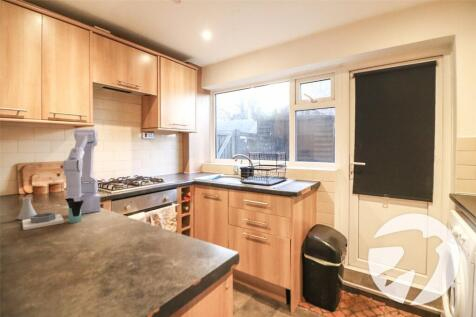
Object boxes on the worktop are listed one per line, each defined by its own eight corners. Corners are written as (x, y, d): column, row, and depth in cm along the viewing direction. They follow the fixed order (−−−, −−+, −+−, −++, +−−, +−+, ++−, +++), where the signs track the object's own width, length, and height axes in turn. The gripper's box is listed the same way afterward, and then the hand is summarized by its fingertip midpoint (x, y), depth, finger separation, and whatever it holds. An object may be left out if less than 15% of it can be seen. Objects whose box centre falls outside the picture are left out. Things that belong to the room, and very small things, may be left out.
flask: (41, 216, 122) (40, 196, 121) (27, 220, 114) (26, 199, 114) (28, 215, 122) (27, 196, 122) (13, 220, 115) (12, 199, 115)
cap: (80, 219, 116) (79, 206, 115) (82, 221, 112) (81, 208, 112) (68, 221, 112) (67, 208, 112) (69, 223, 109) (69, 210, 109)
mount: (60, 216, 121) (59, 209, 120) (64, 222, 110) (63, 215, 110) (22, 222, 111) (22, 215, 111) (23, 230, 101) (22, 222, 101)
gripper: (87, 186, 109) (88, 215, 109) (80, 182, 120) (81, 210, 120) (68, 187, 104) (69, 219, 105) (63, 184, 115) (64, 212, 115)
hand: (74, 214), depth 112 cm, fingers open, 7 cm apart
